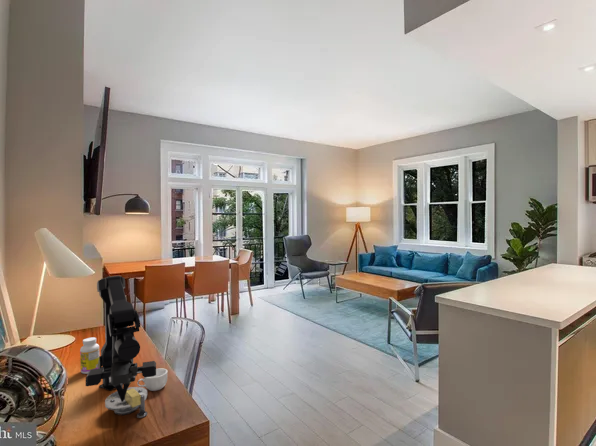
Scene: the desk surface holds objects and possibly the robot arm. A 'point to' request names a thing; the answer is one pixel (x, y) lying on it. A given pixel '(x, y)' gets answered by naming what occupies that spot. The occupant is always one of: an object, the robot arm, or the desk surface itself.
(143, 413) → the flanged pin
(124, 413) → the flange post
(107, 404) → the flange plate
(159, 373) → the teacup
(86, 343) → the supplement bottle
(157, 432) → the desk surface
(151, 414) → the desk surface
